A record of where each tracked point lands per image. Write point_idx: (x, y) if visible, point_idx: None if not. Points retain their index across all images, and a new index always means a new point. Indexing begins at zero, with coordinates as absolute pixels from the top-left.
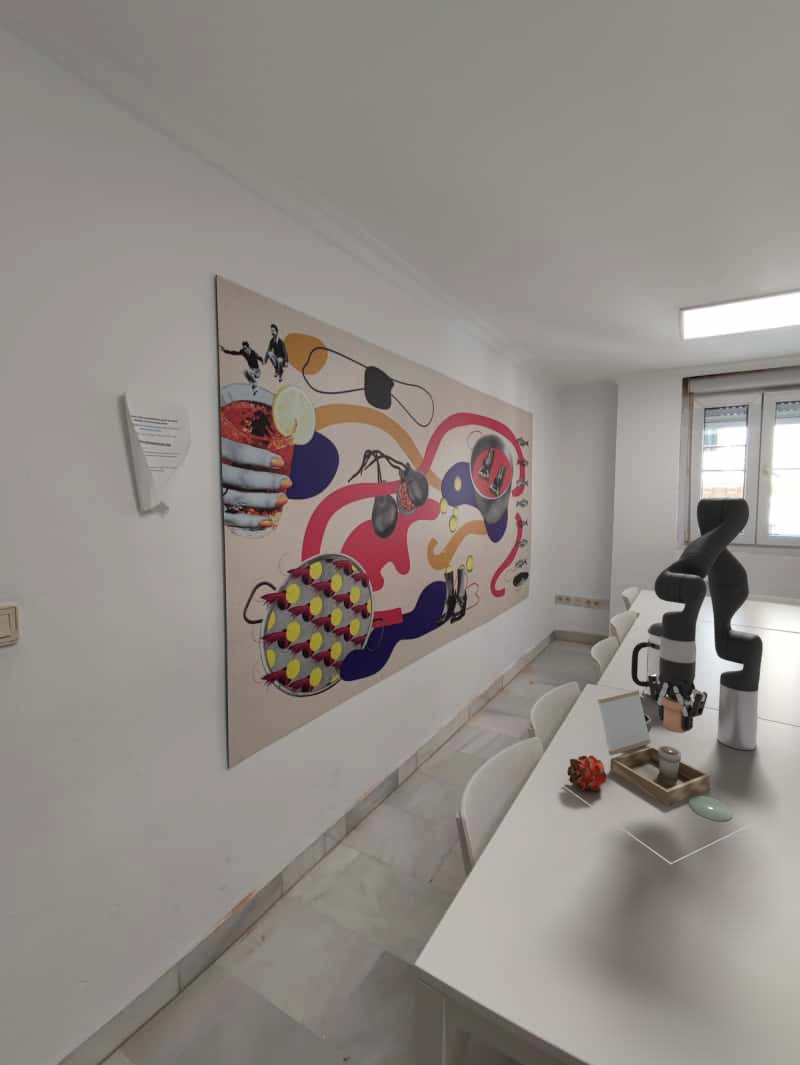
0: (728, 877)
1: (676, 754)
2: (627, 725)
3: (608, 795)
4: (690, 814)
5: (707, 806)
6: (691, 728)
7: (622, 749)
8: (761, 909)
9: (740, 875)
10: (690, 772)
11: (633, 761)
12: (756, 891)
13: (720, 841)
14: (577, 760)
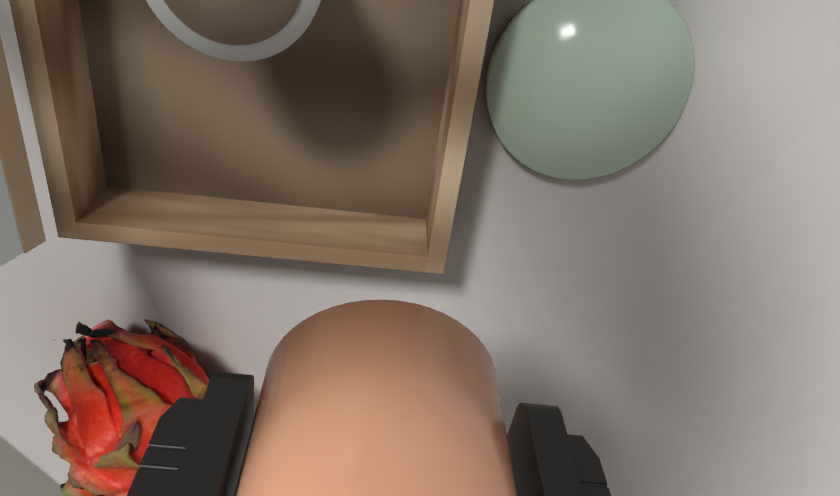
0: (736, 397)
1: None
2: None
3: (252, 352)
4: (533, 198)
5: (578, 96)
6: (585, 452)
7: (11, 147)
8: (826, 432)
9: (766, 365)
10: None
11: (70, 33)
12: (813, 388)
13: (681, 265)
14: None
